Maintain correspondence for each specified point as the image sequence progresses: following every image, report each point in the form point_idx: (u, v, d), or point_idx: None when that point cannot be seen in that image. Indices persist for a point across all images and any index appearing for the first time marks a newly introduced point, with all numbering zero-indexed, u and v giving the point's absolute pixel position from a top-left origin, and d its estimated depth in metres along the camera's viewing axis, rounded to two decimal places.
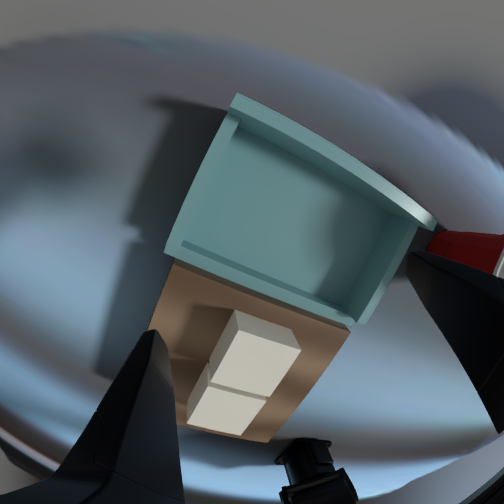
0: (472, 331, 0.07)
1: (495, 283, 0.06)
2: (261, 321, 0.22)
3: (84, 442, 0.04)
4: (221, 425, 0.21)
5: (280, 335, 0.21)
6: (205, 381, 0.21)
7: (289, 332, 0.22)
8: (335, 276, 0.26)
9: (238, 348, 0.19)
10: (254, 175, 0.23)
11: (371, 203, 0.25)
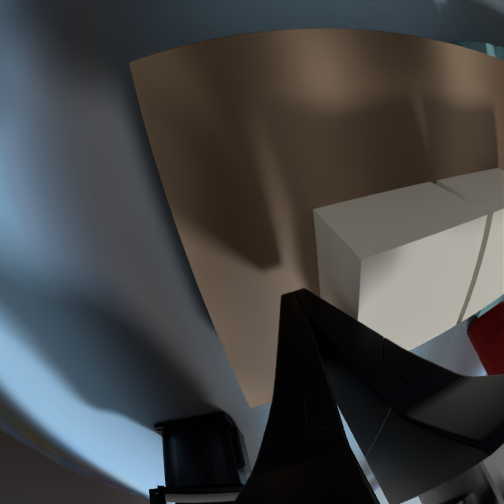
0: (347, 397, 0.06)
1: (373, 348, 0.06)
2: None
3: (284, 413, 0.05)
4: (382, 326, 0.08)
5: None
6: (456, 204, 0.08)
7: None
8: None
9: None
10: None
11: None
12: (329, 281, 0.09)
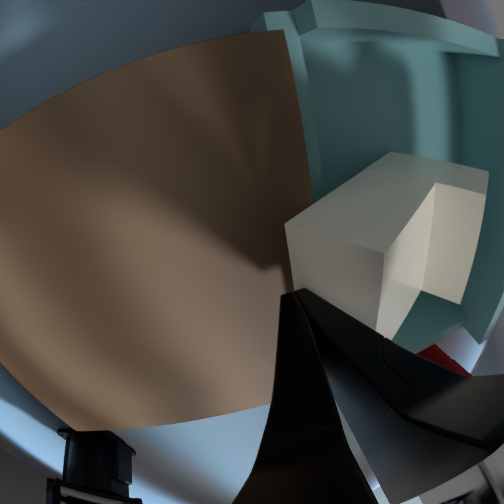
0: (348, 397, 0.06)
1: (374, 348, 0.06)
2: None
3: (283, 413, 0.05)
4: (388, 314, 0.08)
5: None
6: (404, 182, 0.09)
7: None
8: None
9: None
10: (423, 104, 0.11)
11: None
12: (318, 294, 0.09)
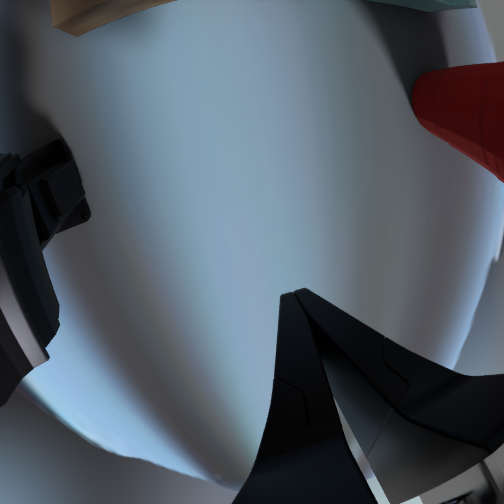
0: (348, 396, 0.06)
1: (374, 348, 0.06)
2: None
3: (283, 413, 0.05)
4: None
5: None
6: None
7: None
8: None
9: None
10: None
11: None
12: None
